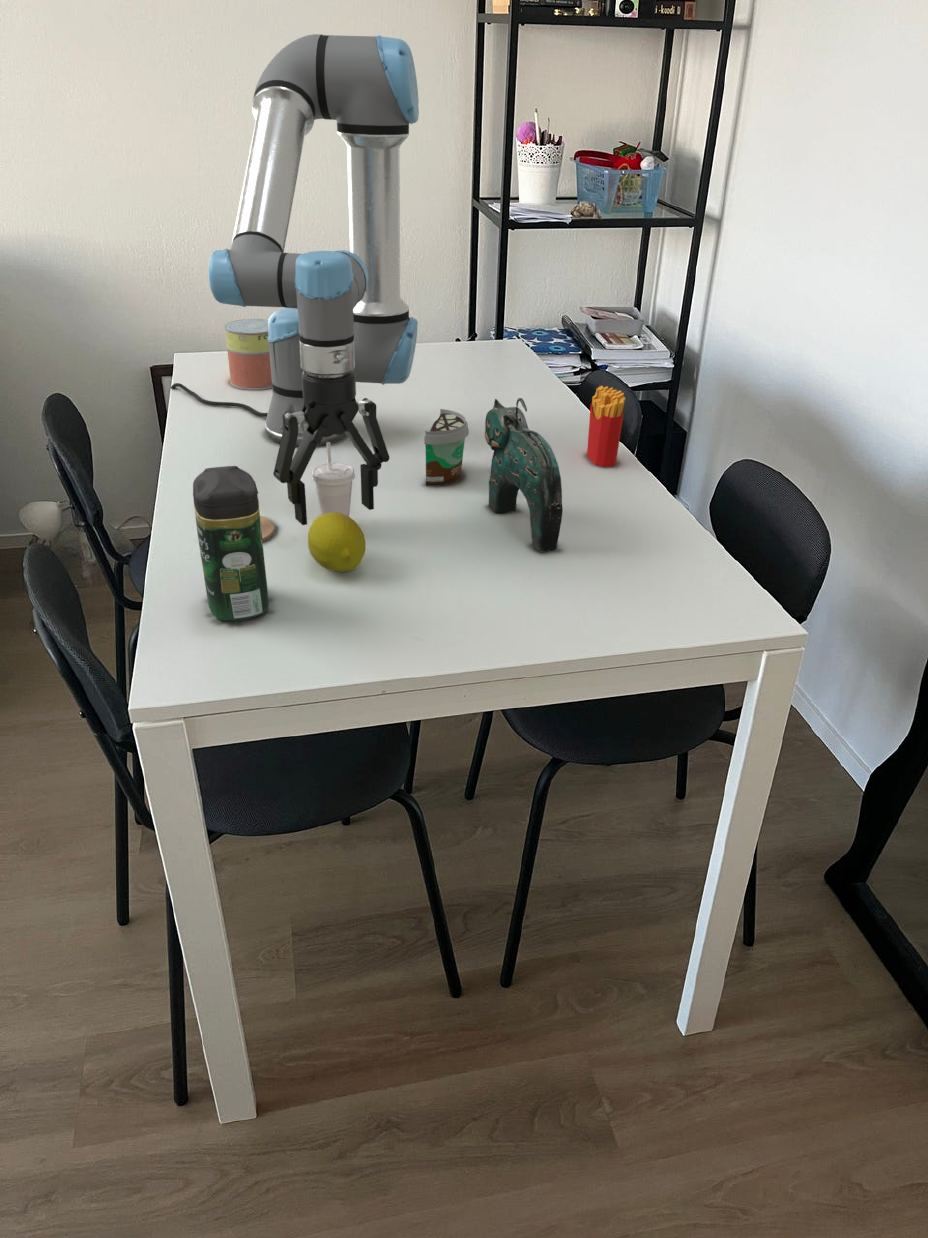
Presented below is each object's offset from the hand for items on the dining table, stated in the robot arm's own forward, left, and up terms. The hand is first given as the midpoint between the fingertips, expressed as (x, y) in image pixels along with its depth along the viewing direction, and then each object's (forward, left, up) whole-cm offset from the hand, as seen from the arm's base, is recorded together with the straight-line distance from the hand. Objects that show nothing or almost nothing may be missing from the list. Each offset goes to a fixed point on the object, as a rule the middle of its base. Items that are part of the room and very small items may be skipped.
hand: (335, 513), depth 144 cm
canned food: (-73, +16, -3) cm, 75 cm away
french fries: (-2, +55, -3) cm, 55 cm away
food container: (-9, +26, -3) cm, 28 cm away
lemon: (+11, -5, -3) cm, 12 cm away
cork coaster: (-6, -13, -3) cm, 15 cm away
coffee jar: (+14, -21, -3) cm, 26 cm away
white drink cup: (0, 0, -3) cm, 3 cm away
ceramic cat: (+13, +26, -3) cm, 29 cm away
